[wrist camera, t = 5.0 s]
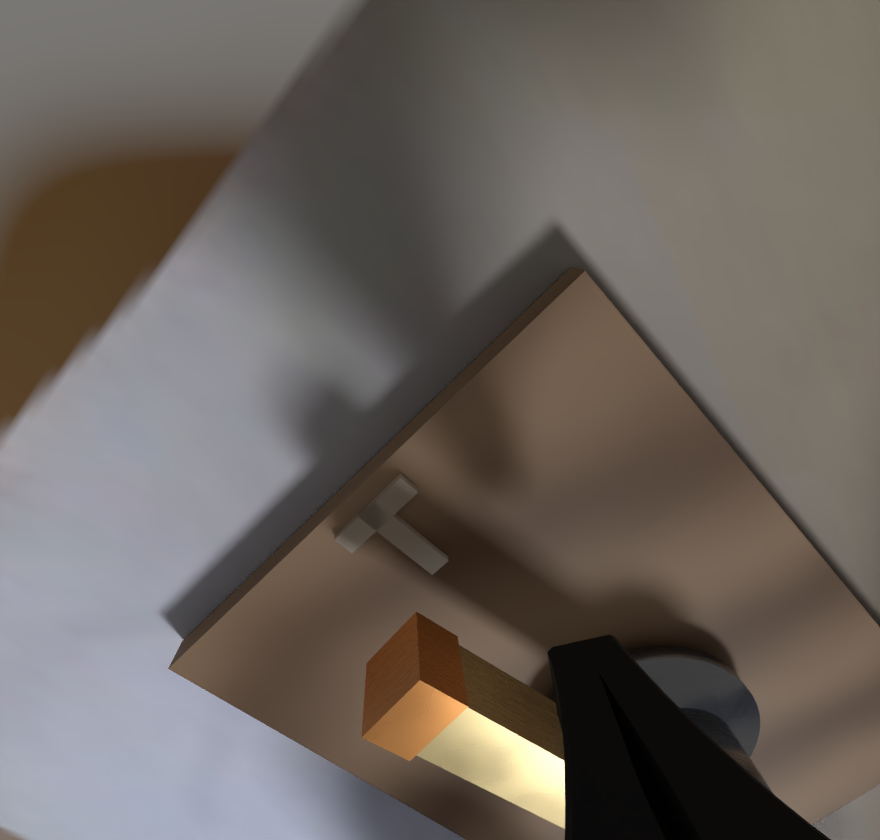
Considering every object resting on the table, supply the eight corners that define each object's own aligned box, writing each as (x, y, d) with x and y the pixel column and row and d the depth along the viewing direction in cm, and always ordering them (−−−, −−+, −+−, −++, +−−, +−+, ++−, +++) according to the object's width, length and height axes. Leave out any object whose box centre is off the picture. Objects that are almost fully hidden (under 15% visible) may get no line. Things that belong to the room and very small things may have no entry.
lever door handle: (790, 710, 16) (907, 854, 12) (631, 830, 18) (694, 991, 14) (480, 484, 12) (516, 595, 9) (313, 663, 14) (282, 823, 10)
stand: (937, 706, 19) (972, 736, 18) (621, 903, 22) (633, 940, 21) (570, 267, 12) (588, 271, 11) (182, 640, 15) (165, 674, 14)
